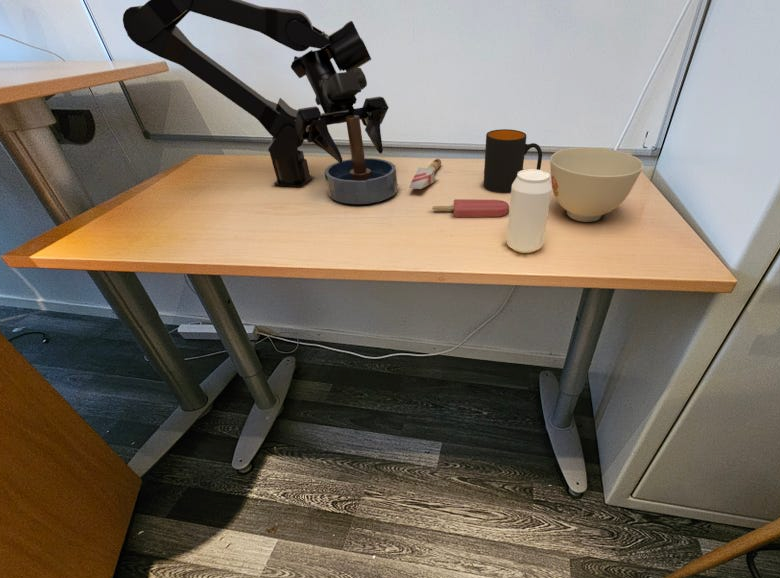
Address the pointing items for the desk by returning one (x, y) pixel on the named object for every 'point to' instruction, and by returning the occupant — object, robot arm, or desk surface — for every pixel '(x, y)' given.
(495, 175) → the mug
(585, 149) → the bowl
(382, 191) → the blue grey round dish
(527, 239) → the beverage can
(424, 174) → the paintbrush
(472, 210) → the popsicle
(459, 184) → the desk surface
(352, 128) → the pestle
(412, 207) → the desk surface
